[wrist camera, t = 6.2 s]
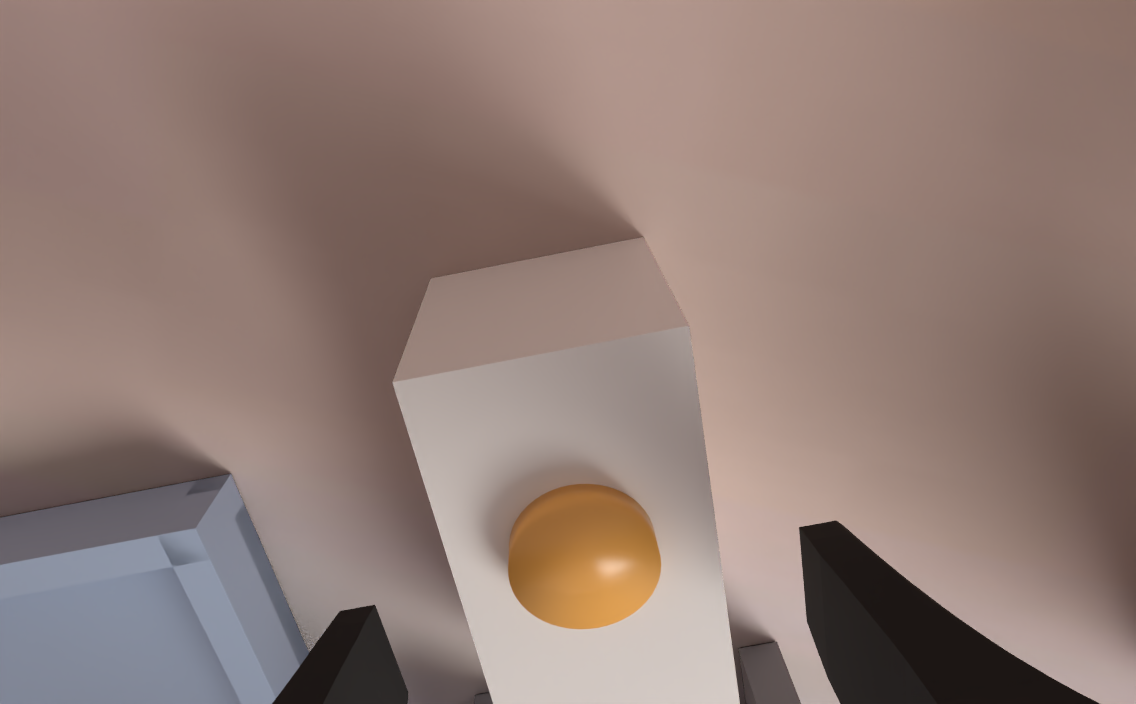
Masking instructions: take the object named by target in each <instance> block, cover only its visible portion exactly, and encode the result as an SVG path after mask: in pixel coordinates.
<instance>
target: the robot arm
mask: <svg viewBox="0 0 1136 704" xmlns="http://www.w3.org/2000/svg"><path fill="white" fill-rule="evenodd" d="M799 531H800V543H801V555H802V567H803V579H804V591H805V603H806V616H807V623H808V625H809V628H810V631H811V634H812V636H813V639H814V642H815V645H816V648H817V650H818V653H819V656H820V658H821V661H822V664H823V666H824V669H825V671H826V674H827V677H828V679H829V681H830V683H831V685H832V687H833V689H834V691H835V693H836V695H837V697H838V699H839V701H840V703H841V704H1099V703H1097V702H1095V701H1094V700H1092V699H1090V698H1088V697H1086V696H1084V695H1082V694H1080V693H1078V692H1076V691H1074V690H1072V689H1071V688H1069V687H1067V686H1065V685H1063V684H1061V683H1060V682H1058V681H1056V680H1054V679H1052V678H1051V677H1049V676H1047V675H1046V674H1044V673H1042V672H1041V671H1039V670H1037V669H1035V668H1034V667H1032V666H1030V665H1029V664H1027V663H1025V662H1024V661H1022V660H1020V659H1019V658H1017V657H1015V656H1014V655H1012V654H1011V653H1009V652H1007V651H1006V650H1004V649H1003V648H1001V647H1000V646H998V645H997V644H995V643H994V642H992V641H991V640H989V639H987V638H986V637H985V636H983V635H982V634H980V633H979V632H977V631H976V630H974V629H973V628H972V627H970V626H969V625H967V624H966V623H964V622H963V621H961V620H960V619H959V618H957V617H956V616H954V615H953V614H952V613H950V612H949V611H948V610H946V609H945V608H943V607H942V606H941V605H939V604H938V603H937V602H936V601H934V600H933V599H932V598H930V597H929V596H928V595H926V594H925V593H924V592H923V591H921V590H920V589H919V588H917V587H916V586H915V585H913V584H912V583H911V582H910V581H908V580H907V579H906V578H905V577H903V576H902V575H901V574H900V573H898V572H897V571H896V570H895V569H893V568H892V567H891V566H890V565H889V564H887V563H886V562H885V561H884V560H883V559H881V558H880V557H879V556H878V555H877V554H875V553H874V552H873V551H872V550H871V549H870V548H868V547H867V546H866V545H865V544H864V543H863V542H861V541H860V540H859V539H858V538H857V537H856V536H855V535H853V534H852V533H851V532H850V531H849V530H848V529H847V528H845V527H844V526H843V525H842V524H840V523H839V522H837V521H831V522H826V523H820V524H815V525H809V526H804V527H799ZM407 703H408V691H407V688H406V685H405V683H404V680H403V677H402V675H401V672H400V670H399V667H398V664H397V662H396V659H395V656H394V654H393V651H392V648H391V646H390V643H389V641H388V638H387V635H386V633H385V630H384V627H383V625H382V622H381V619H380V617H379V614H378V612H377V609H376V606H375V605H371V606H366V607H360V608H355V609H349V610H344V611H340V612H339V613H338V615H337V616H336V617H335V619H334V620H333V621H332V623H331V624H330V625H329V627H328V628H327V629H326V631H325V632H324V634H323V635H322V636H321V638H320V639H319V640H318V642H317V643H316V644H315V646H314V647H313V649H312V650H311V651H310V653H309V654H308V656H307V657H306V658H305V660H304V661H303V662H302V664H301V665H300V667H299V668H298V669H297V671H296V672H295V673H294V675H293V676H292V678H291V679H290V680H289V682H288V683H287V684H286V686H285V687H284V688H283V690H282V691H281V692H280V694H279V695H278V696H277V698H276V699H275V700H274V702H273V703H272V704H407Z"/></svg>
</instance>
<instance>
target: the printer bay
mask: <svg viewBox="0 0 1136 704" xmlns="http://www.w3.org/2000/svg"><path fill="white" fill-rule="evenodd" d="M739 656H740V663H741V671H742V678H743V686H744V693H745V701H746V704H801V703H800V700H799V697H798V695H797V692H796V690H795V687H794V685H793V682H792V680H791V677H790V674H789V672H788V669H787V667H786V664H785V662H784V659H783V657H782V654H781V651H780V649H779V646H778V644H777V642H773V643H767V644H762V645H756V646H751V647H745V648H739ZM474 704H493V702H492V698H491V695H490V693H486V694H480V695H475V699H474Z"/></svg>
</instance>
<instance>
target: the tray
mask: <svg viewBox="0 0 1136 704" xmlns="http://www.w3.org/2000/svg"><path fill="white" fill-rule="evenodd" d="M308 654H309V652H308V650H307V647H306V645H305V643H304V640H303V638H302V636H301V634H300V631H299V629H298V627H297V624H296V622H295V620H294V617H293V615H292V613H291V611H290V608H289V606H288V604H287V601H286V599H285V597H284V594H283V592H282V590H281V588H280V585H279V583H278V581H277V578H276V576H275V574H274V572H273V569H272V567H271V565H270V562H269V560H268V558H267V555H266V553H265V551H264V549H263V546H262V544H261V542H260V539H259V537H258V535H257V532H256V530H255V528H254V526H253V523H252V521H251V519H250V516H249V514H248V512H247V509H246V507H245V505H244V503H243V500H242V498H241V496H240V493H239V491H238V489H237V486H236V484H235V482H234V480H233V477H232V475H231V474H227V475H222V476H217V477H211V478H206V479H201V480H196V481H190V482H185V483H180V484H175V485H169V486H164V487H159V488H154V489H148V490H143V491H138V492H133V493H127V494H122V495H117V496H111V497H106V498H101V499H96V500H90V501H85V502H80V503H75V504H69V505H64V506H59V507H54V508H48V509H43V510H38V511H33V512H27V513H22V514H17V515H12V516H6V517H1V518H0V704H272V703H273V702H274V700H275V699H276V698H277V696H278V695H279V694H280V692H281V691H282V690H283V688H284V687H285V686H286V684H287V683H288V682H289V680H290V679H291V678H292V676H293V675H294V673H295V672H296V671H297V669H298V668H299V667H300V665H301V664H302V662H303V661H304V660H305V658H306V657H307V656H308Z"/></svg>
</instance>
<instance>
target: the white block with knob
mask: <svg viewBox="0 0 1136 704" xmlns="http://www.w3.org/2000/svg"><path fill="white" fill-rule="evenodd" d="M392 383H393V386H394V390H395V393H396V396H397V399H398V402H399V405H400V409H401V412H402V415H403V418H404V421H405V425H406V428H407V431H408V434H409V437H410V441H411V444H412V447H413V450H414V453H415V456H416V460H417V463H418V466H419V469H420V472H421V476H422V479H423V482H424V485H425V488H426V491H427V495H428V498H429V501H430V504H431V507H432V511H433V514H434V517H435V520H436V523H437V526H438V530H439V533H440V536H441V539H442V542H443V546H444V549H445V552H446V555H447V558H448V562H449V565H450V568H451V571H452V574H453V577H454V581H455V584H456V587H457V590H458V593H459V597H460V600H461V603H462V606H463V609H464V612H465V616H466V619H467V622H468V625H469V628H470V632H471V635H472V638H473V641H474V644H475V648H476V651H477V654H478V657H479V660H480V663H481V667H482V670H483V673H484V676H485V679H486V683H487V686H488V689H489V692H490V695H491V698H492V702H493V704H740V701H739V693H738V686H737V678H736V671H735V663H734V656H733V648H732V641H731V634H730V626H729V619H728V611H727V604H726V596H725V589H724V581H723V574H722V567H721V559H720V552H719V544H718V537H717V529H716V522H715V514H714V507H713V500H712V492H711V485H710V477H709V470H708V462H707V455H706V447H705V440H704V433H703V425H702V418H701V410H700V403H699V395H698V388H697V380H696V373H695V366H694V358H693V351H692V343H691V336H690V328H689V324H688V322H687V320H686V319H685V317H684V315H683V313H682V311H681V309H680V307H679V305H678V303H677V301H676V299H675V297H674V295H673V293H672V291H671V289H670V287H669V285H668V283H667V281H666V279H665V277H664V275H663V274H662V272H661V270H660V268H659V266H658V264H657V262H656V260H655V258H654V256H653V254H652V252H651V250H650V248H649V246H648V244H647V242H646V240H645V238H644V237H640V238H635V239H630V240H625V241H620V242H615V243H610V244H605V245H599V246H594V247H589V248H584V249H579V250H574V251H569V252H564V253H558V254H553V255H548V256H543V257H538V258H533V259H528V260H523V261H517V262H512V263H507V264H502V265H497V266H492V267H487V268H482V269H477V270H471V271H466V272H461V273H456V274H451V275H446V276H441V277H436V278H431V279H430V282H429V285H428V287H427V290H426V293H425V295H424V298H423V301H422V304H421V306H420V309H419V312H418V314H417V317H416V320H415V322H414V325H413V328H412V331H411V333H410V336H409V339H408V341H407V344H406V347H405V349H404V352H403V355H402V358H401V360H400V363H399V366H398V368H397V371H396V374H395V377H394V379H393V382H392Z"/></svg>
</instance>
